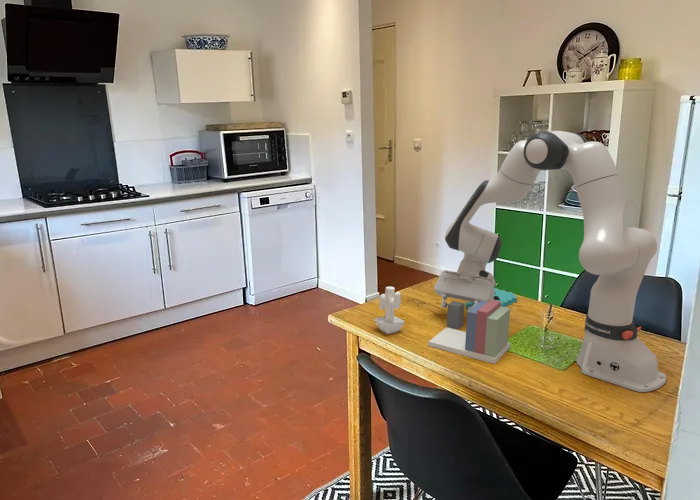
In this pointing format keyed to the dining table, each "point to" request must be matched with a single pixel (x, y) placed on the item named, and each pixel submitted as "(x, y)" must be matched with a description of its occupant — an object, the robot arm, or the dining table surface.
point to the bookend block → (455, 315)
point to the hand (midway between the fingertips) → (456, 310)
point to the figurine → (389, 311)
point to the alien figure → (499, 298)
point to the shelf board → (459, 345)
